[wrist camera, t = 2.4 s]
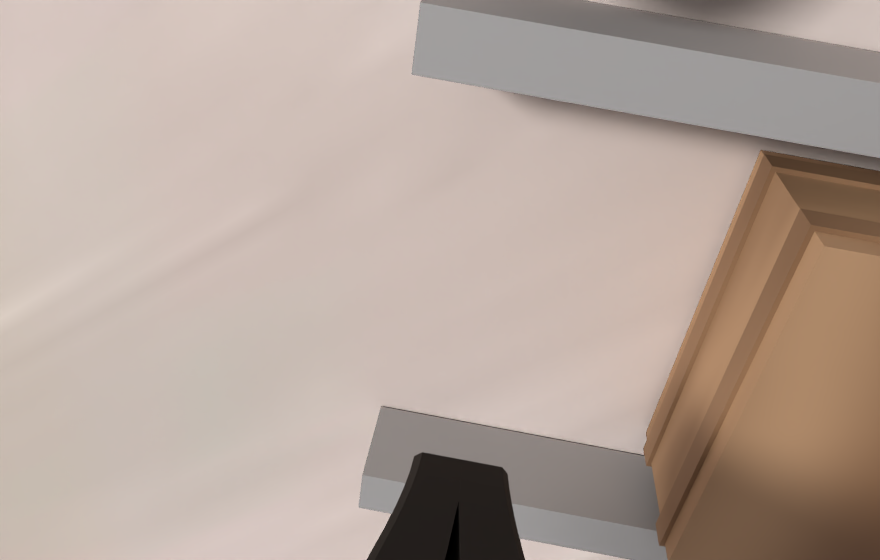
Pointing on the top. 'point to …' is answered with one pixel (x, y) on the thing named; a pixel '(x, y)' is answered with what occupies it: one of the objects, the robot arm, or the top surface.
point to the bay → (641, 93)
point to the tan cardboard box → (779, 379)
